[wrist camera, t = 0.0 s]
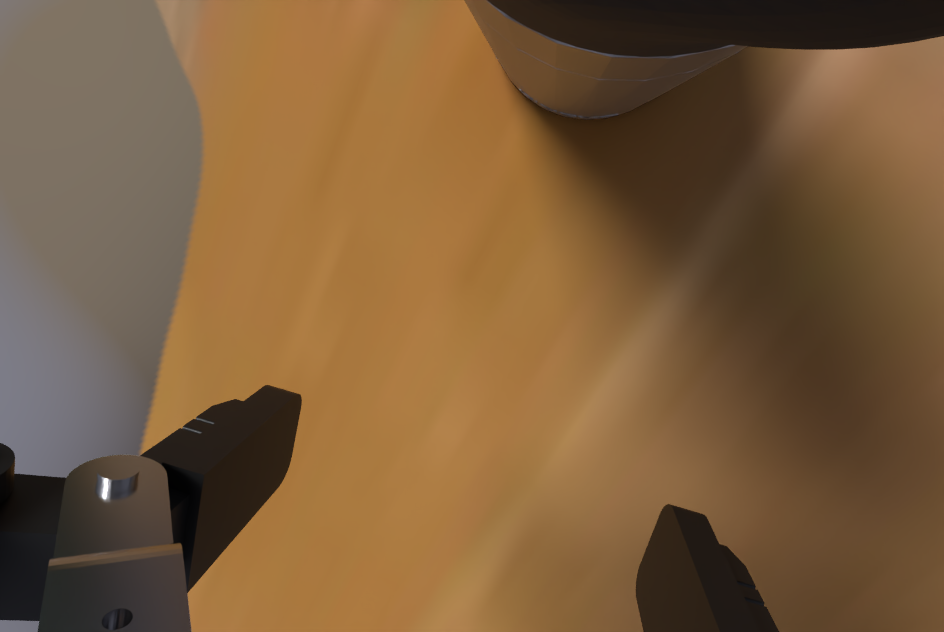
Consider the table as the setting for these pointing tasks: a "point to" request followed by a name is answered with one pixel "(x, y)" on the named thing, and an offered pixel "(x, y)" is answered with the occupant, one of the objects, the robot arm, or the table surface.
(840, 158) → the table surface
